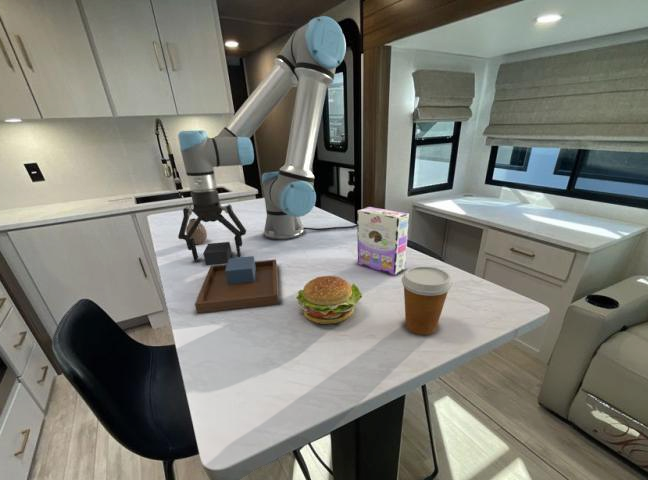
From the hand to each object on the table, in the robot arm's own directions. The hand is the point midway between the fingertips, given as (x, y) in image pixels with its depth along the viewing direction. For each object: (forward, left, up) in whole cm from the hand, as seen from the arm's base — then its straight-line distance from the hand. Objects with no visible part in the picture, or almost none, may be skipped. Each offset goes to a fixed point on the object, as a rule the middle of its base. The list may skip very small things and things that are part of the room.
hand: (218, 257), depth 104 cm
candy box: (-49, +19, -1) cm, 53 cm away
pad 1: (0, 0, -1) cm, 1 cm away
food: (-30, +41, -1) cm, 51 cm away
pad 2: (-9, +18, 0) cm, 20 cm away
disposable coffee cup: (-48, +51, -1) cm, 70 cm away
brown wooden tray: (-9, +23, -1) cm, 25 cm away
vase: (+10, -19, -1) cm, 21 cm away
